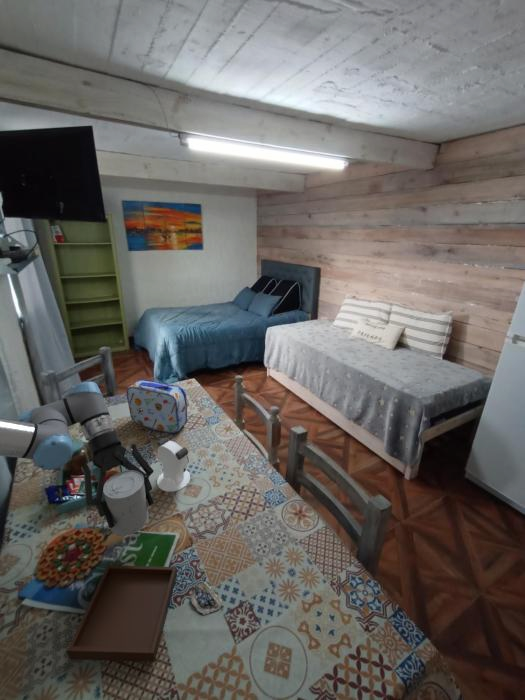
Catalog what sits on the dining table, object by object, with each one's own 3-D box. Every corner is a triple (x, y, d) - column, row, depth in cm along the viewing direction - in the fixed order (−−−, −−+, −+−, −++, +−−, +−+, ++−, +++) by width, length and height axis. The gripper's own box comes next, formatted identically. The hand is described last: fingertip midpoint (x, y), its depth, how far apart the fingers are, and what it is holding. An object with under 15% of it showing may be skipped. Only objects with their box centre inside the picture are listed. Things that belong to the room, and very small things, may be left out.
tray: (69, 659, 65) (66, 650, 64) (109, 573, 81) (107, 564, 80) (154, 661, 65) (153, 653, 64) (177, 574, 81) (176, 566, 80)
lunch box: (193, 425, 144) (191, 381, 136) (181, 438, 135) (178, 392, 127) (142, 414, 152) (137, 372, 144) (128, 426, 142) (121, 382, 134)
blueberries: (200, 579, 81) (199, 573, 80) (228, 591, 78) (228, 586, 77) (184, 606, 75) (184, 600, 74) (214, 621, 72) (214, 615, 71)
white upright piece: (198, 477, 114) (196, 443, 108) (173, 497, 105) (170, 461, 99) (175, 464, 120) (172, 430, 115) (150, 482, 111) (146, 446, 106)
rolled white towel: (111, 510, 87) (104, 475, 82) (147, 501, 90) (143, 466, 86) (108, 540, 78) (101, 502, 74) (149, 529, 82) (144, 492, 77)
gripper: (55, 449, 76) (87, 542, 71) (144, 416, 90) (176, 491, 85) (54, 457, 81) (84, 543, 76) (138, 424, 96) (168, 494, 91)
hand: (132, 515), depth 81 cm, fingers closed on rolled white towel, 9 cm apart
